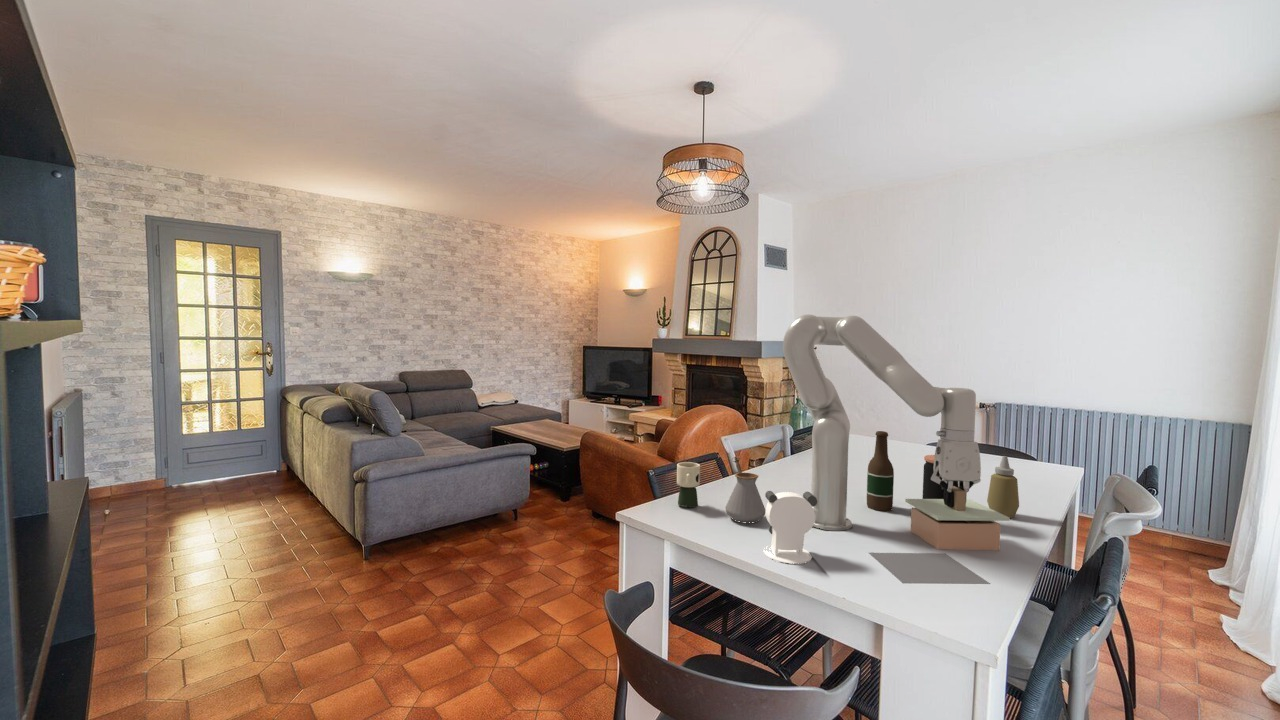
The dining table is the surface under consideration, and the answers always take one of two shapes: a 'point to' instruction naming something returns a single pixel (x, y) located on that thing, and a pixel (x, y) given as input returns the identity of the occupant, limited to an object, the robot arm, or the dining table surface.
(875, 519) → the dining table surface
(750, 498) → the coffee pot
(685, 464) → the character mug
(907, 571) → the mat
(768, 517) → the panda figurine
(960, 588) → the dining table surface
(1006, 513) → the squeeze bottle
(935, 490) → the coffee jar
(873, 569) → the dining table surface
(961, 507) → the lid
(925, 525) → the wooden cubby box
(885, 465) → the beer bottle
